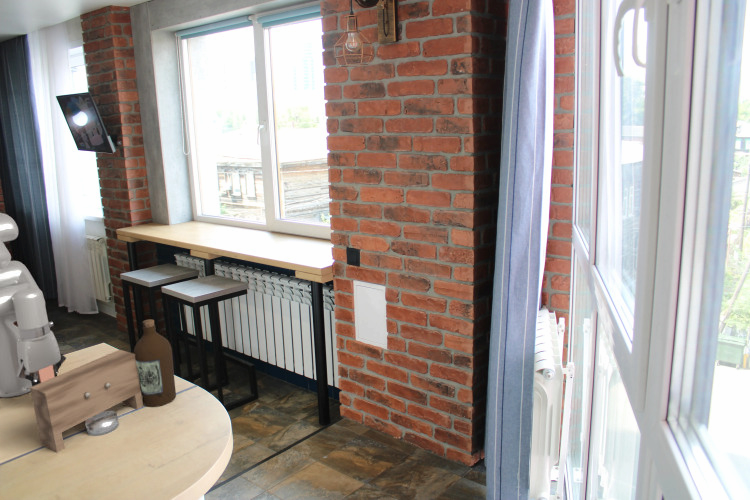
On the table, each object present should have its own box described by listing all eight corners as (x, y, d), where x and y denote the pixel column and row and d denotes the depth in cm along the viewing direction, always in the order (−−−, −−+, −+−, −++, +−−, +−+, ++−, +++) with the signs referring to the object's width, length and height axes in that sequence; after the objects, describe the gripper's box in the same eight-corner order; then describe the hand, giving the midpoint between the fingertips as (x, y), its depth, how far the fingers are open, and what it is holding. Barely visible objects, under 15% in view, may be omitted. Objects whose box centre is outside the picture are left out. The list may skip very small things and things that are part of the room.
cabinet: (41, 445, 150) (29, 387, 146) (128, 400, 172) (119, 349, 168) (59, 453, 146) (47, 394, 142) (145, 406, 168) (137, 354, 164)
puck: (81, 431, 157) (79, 421, 156) (108, 417, 163) (107, 408, 162) (97, 439, 152) (95, 429, 151) (124, 425, 158) (122, 415, 158)
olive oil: (151, 390, 178) (139, 314, 172) (183, 390, 177) (173, 314, 171) (134, 408, 167) (121, 328, 161) (169, 408, 166) (157, 327, 160)
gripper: (55, 319, 174) (66, 375, 178) (-3, 339, 160) (10, 399, 164) (70, 323, 170) (80, 380, 174) (11, 344, 156) (24, 404, 160)
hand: (46, 388), depth 169 cm, fingers closed on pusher, 4 cm apart
